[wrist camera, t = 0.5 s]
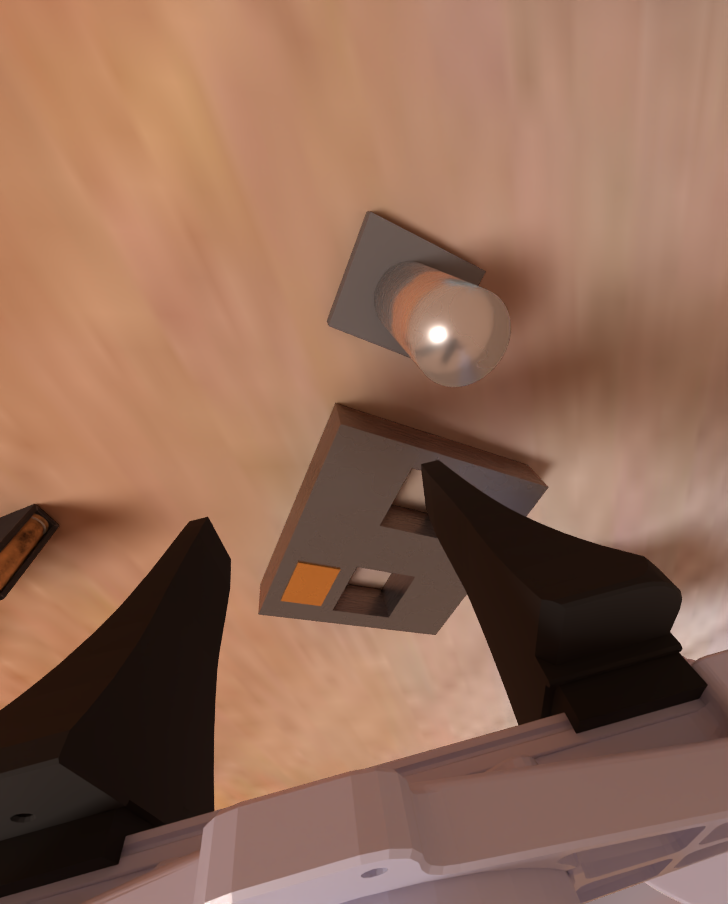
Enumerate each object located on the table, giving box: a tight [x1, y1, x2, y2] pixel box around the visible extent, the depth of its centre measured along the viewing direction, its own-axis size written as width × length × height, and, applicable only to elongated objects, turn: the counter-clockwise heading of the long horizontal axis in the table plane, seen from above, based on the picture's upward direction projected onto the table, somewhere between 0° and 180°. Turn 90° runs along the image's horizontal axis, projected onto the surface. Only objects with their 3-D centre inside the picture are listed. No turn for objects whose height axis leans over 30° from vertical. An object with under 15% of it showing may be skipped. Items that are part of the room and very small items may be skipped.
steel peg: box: [374, 261, 511, 387], centre depth 15 cm, size 3×3×7 cm
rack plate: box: [258, 403, 548, 635], centre depth 26 cm, size 14×15×3 cm
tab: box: [327, 212, 486, 358], centre depth 19 cm, size 6×5×1 cm
